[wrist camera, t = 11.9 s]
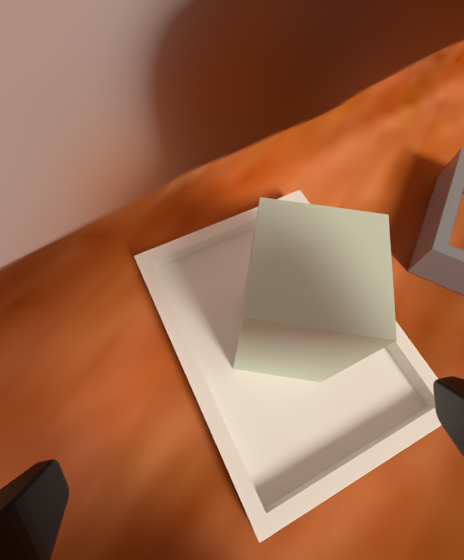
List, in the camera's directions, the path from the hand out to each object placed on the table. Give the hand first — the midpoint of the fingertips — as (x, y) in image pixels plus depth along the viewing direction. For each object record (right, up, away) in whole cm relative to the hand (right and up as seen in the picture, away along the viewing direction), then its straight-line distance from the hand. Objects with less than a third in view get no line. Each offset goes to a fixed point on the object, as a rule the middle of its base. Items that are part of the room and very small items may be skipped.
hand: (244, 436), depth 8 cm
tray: (+3, 0, +13) cm, 13 cm away
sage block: (+3, 0, +12) cm, 13 cm away
